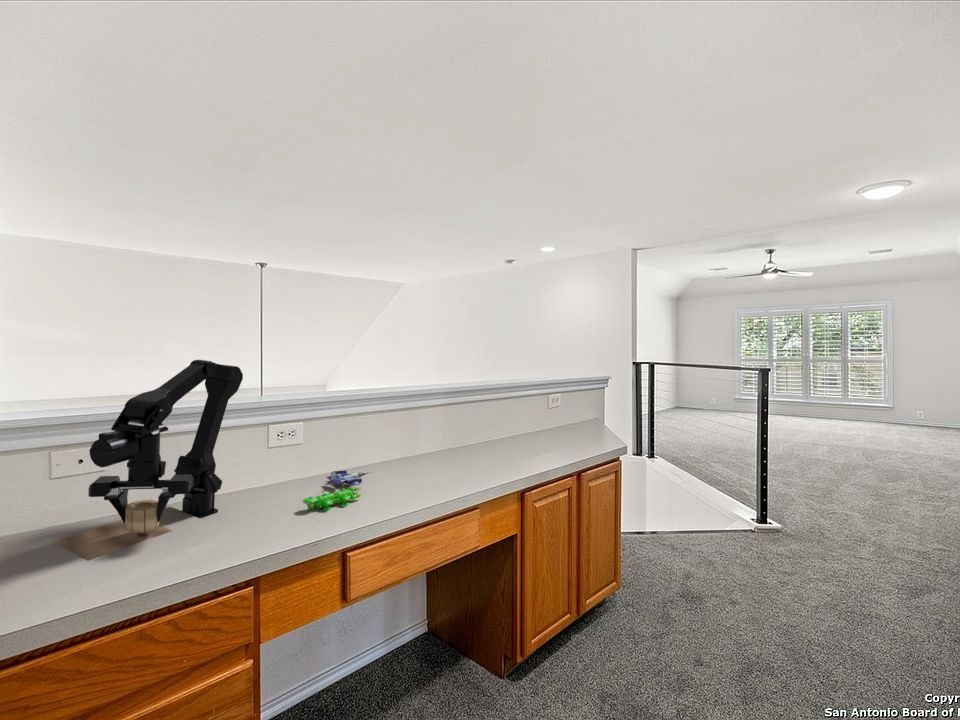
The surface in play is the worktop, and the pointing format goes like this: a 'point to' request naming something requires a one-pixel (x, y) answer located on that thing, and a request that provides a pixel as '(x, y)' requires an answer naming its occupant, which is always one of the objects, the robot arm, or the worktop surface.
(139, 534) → the silver metal cylinder
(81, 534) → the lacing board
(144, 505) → the wooden octagonal holder
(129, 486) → the robot arm
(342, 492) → the crocodile figurine
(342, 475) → the toy airplane
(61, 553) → the worktop surface
